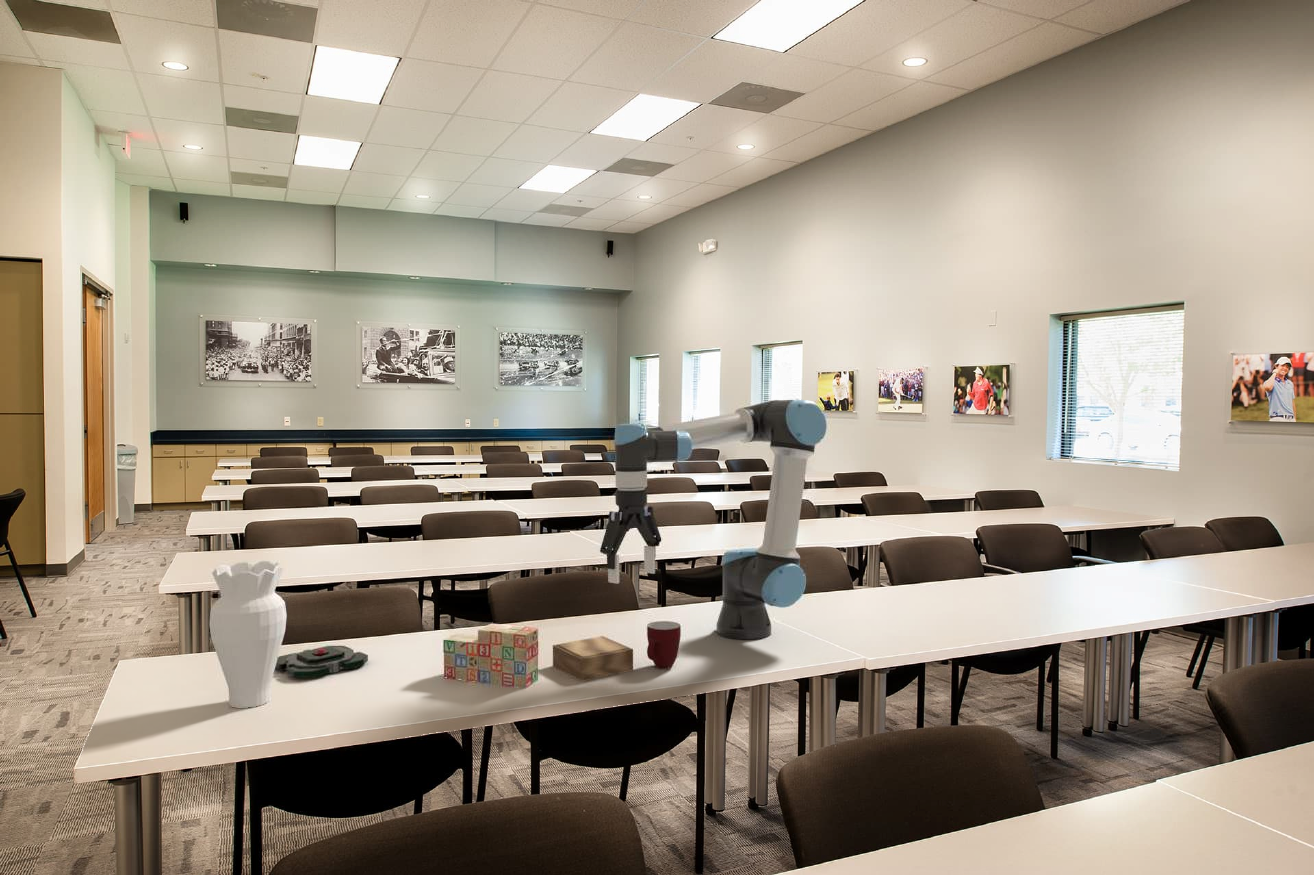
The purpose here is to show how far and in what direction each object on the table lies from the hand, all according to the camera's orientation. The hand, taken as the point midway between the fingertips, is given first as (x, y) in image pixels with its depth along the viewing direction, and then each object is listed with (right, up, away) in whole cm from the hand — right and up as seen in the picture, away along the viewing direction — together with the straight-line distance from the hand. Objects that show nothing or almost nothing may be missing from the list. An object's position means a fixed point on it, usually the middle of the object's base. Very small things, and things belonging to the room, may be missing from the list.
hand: (632, 577), depth 201 cm
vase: (-80, -23, -22) cm, 86 cm away
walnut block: (-10, -22, +1) cm, 24 cm away
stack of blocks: (-32, -23, -7) cm, 40 cm away
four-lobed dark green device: (-75, -23, +3) cm, 79 cm away
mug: (+7, -22, +1) cm, 23 cm away
